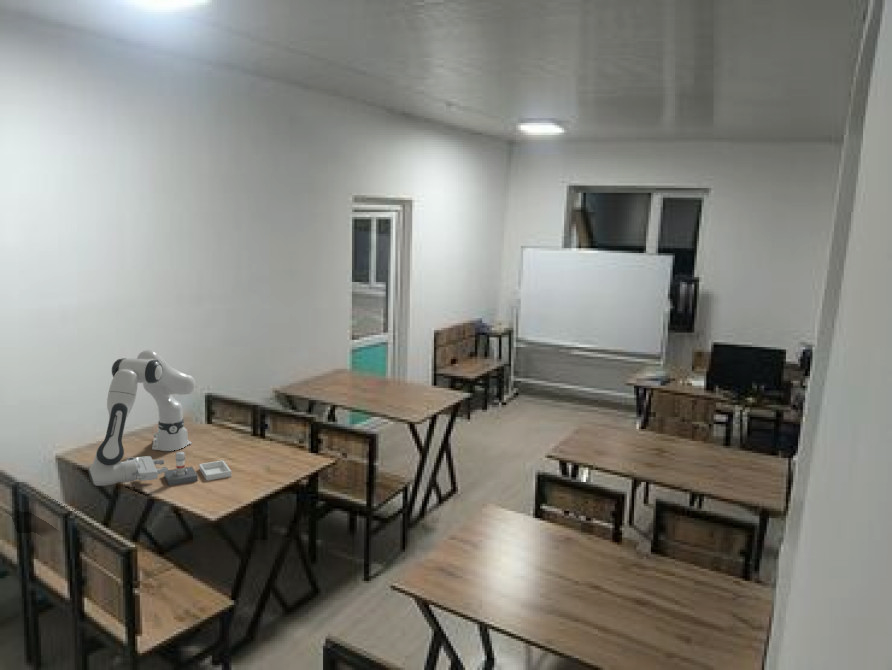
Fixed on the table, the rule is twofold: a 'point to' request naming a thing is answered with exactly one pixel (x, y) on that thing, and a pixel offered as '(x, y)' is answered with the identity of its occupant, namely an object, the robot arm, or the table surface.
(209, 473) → the tray
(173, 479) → the fuse holder
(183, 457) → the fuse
